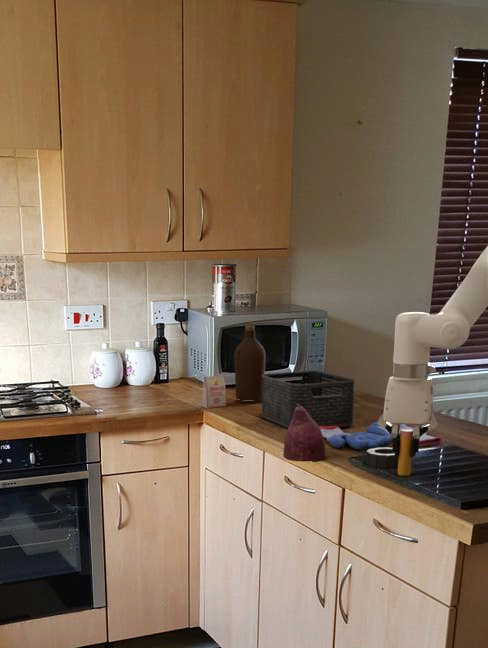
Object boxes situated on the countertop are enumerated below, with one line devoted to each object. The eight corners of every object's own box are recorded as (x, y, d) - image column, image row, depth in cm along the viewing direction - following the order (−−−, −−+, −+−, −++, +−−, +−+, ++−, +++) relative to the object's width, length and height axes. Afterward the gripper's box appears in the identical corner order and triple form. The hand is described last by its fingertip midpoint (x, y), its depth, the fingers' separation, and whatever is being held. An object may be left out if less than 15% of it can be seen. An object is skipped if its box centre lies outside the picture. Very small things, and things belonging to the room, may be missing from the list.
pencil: (411, 473, 198) (414, 429, 194) (409, 476, 195) (412, 431, 192) (398, 472, 199) (401, 428, 195) (396, 475, 196) (399, 431, 193)
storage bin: (258, 416, 271) (258, 372, 267) (316, 412, 276) (317, 369, 271) (294, 432, 245) (295, 384, 241) (357, 427, 250) (359, 380, 245)
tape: (407, 461, 209) (408, 448, 208) (400, 469, 202) (401, 456, 201) (370, 458, 213) (371, 446, 212) (362, 466, 205) (363, 454, 204)
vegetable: (302, 476, 211) (297, 419, 203) (275, 463, 219) (269, 408, 211) (335, 459, 215) (331, 403, 207) (308, 447, 223) (303, 393, 215)
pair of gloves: (401, 427, 249) (402, 414, 247) (459, 443, 226) (460, 429, 225) (302, 438, 238) (302, 424, 237) (352, 456, 216) (353, 441, 214)
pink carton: (202, 406, 293) (202, 376, 289) (221, 404, 294) (221, 374, 291) (206, 408, 289) (206, 377, 286) (225, 406, 291) (225, 376, 288)
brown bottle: (260, 404, 293) (261, 327, 285) (230, 403, 297) (230, 327, 289) (268, 399, 302) (269, 324, 294) (239, 398, 306) (239, 324, 298)
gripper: (451, 370, 189) (445, 453, 195) (376, 368, 196) (372, 449, 202) (446, 374, 183) (440, 461, 189) (369, 372, 190) (365, 456, 196)
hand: (405, 454), depth 196 cm, fingers closed on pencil, 2 cm apart
